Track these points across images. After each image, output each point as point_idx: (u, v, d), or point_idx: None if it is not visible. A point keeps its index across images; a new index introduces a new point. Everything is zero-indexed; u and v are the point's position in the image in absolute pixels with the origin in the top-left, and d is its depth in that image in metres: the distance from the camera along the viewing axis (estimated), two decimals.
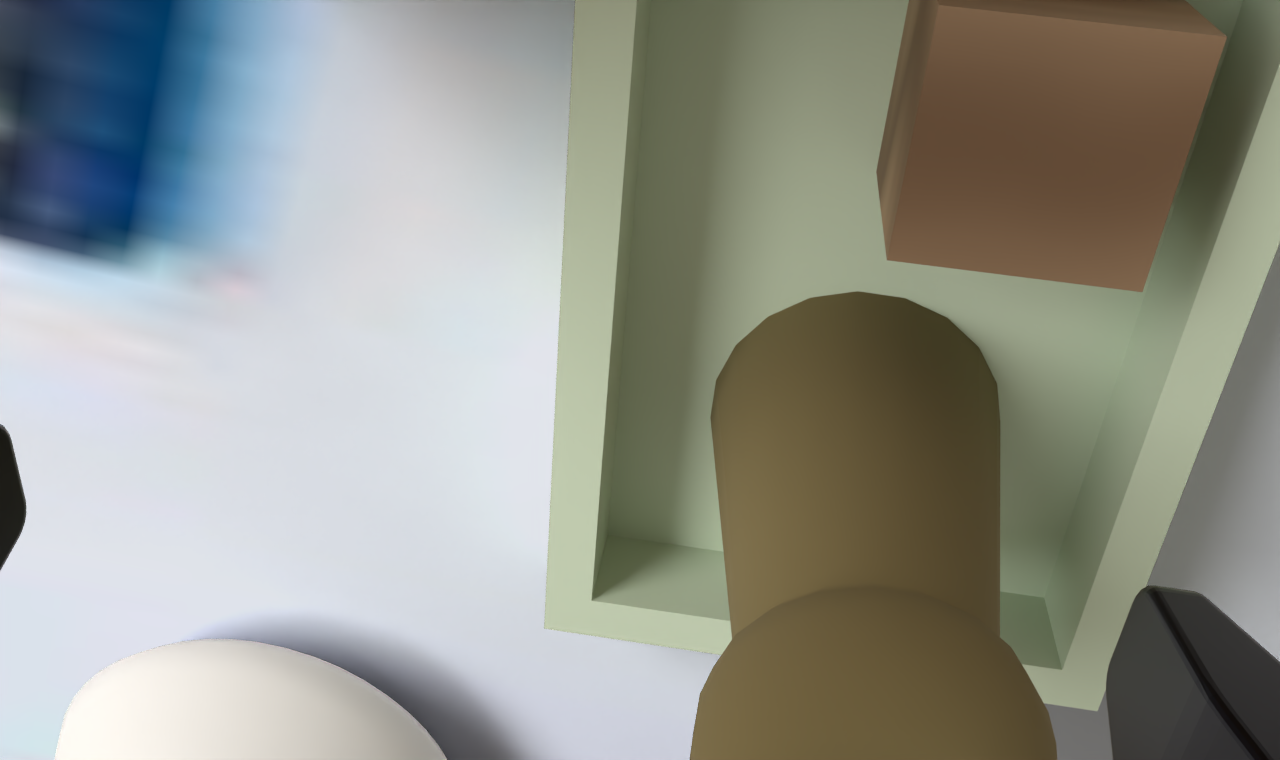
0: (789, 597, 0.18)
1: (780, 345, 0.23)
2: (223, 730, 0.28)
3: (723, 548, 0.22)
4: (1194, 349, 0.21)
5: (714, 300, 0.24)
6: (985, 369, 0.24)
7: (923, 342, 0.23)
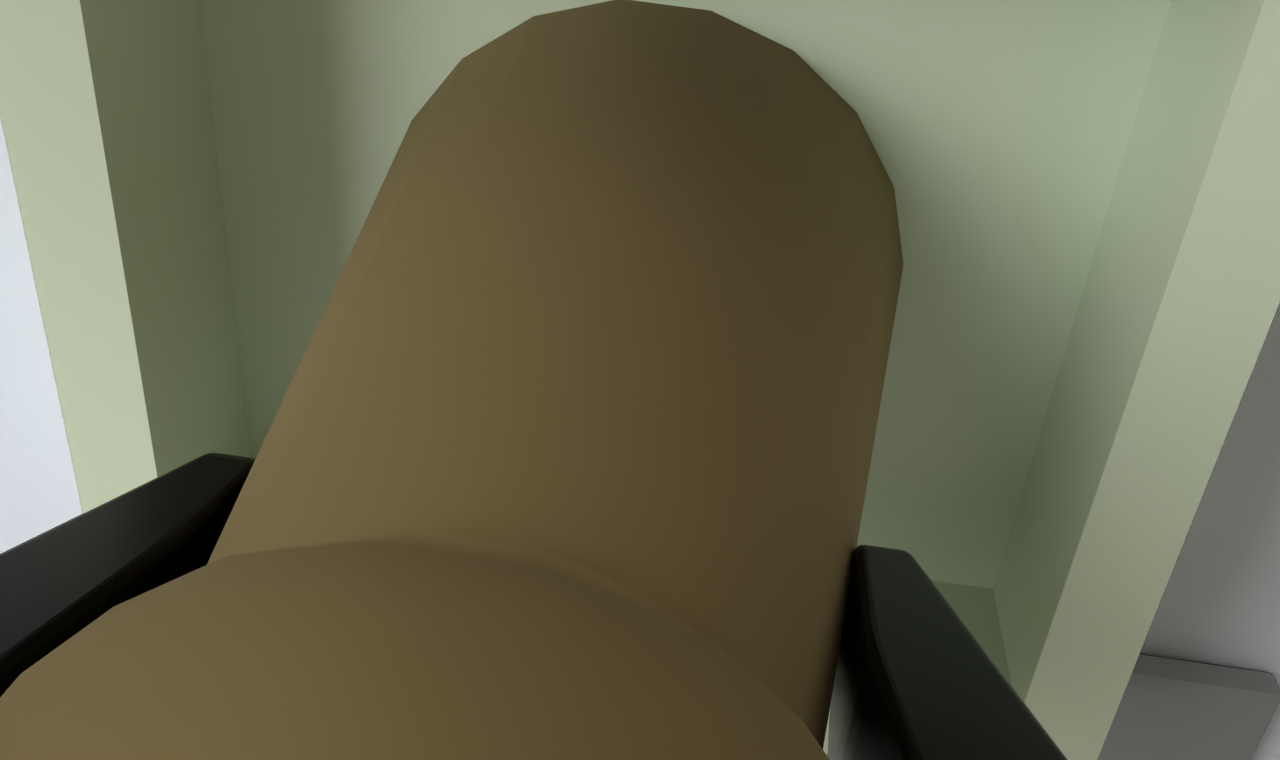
0: None
1: (459, 93, 0.12)
2: None
3: None
4: None
5: (360, 27, 0.13)
6: (867, 151, 0.12)
7: (731, 74, 0.11)
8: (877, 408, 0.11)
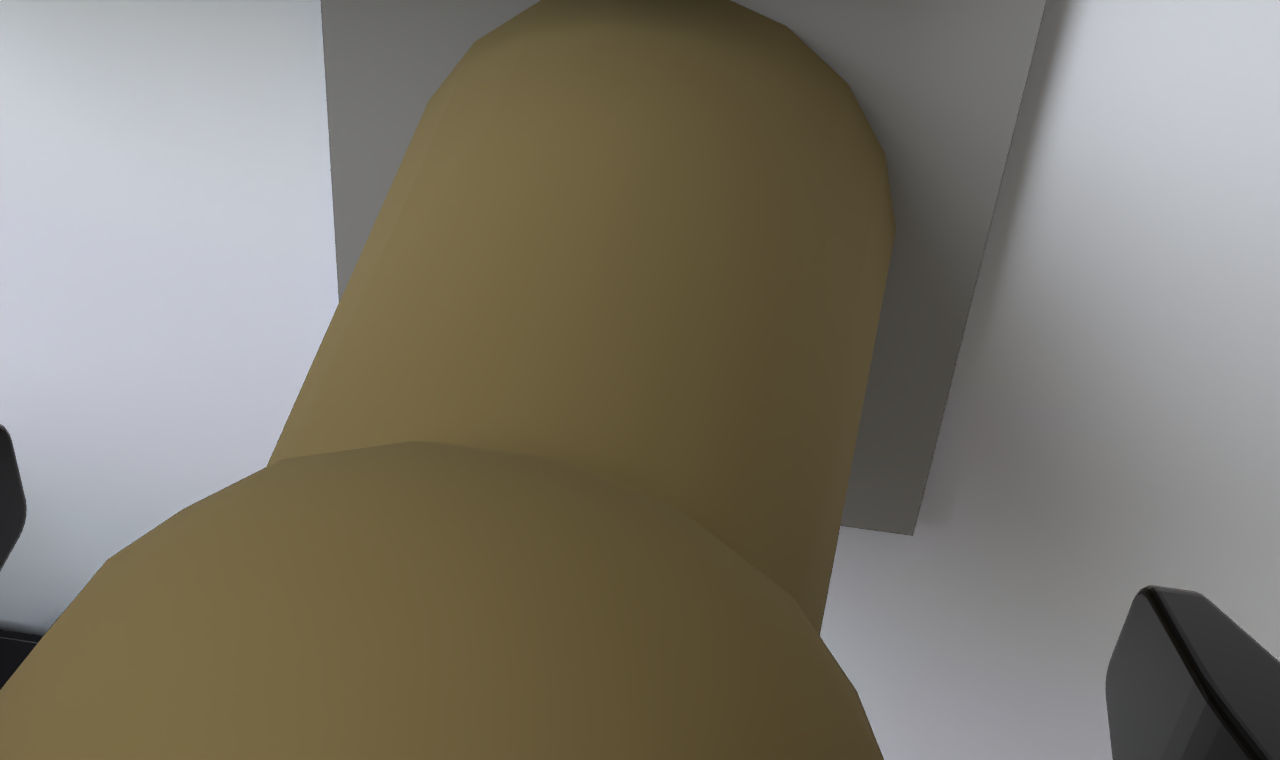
0: None
1: (473, 72, 0.13)
2: None
3: None
4: None
5: None
6: (859, 120, 0.13)
7: (727, 48, 0.12)
8: (870, 356, 0.11)
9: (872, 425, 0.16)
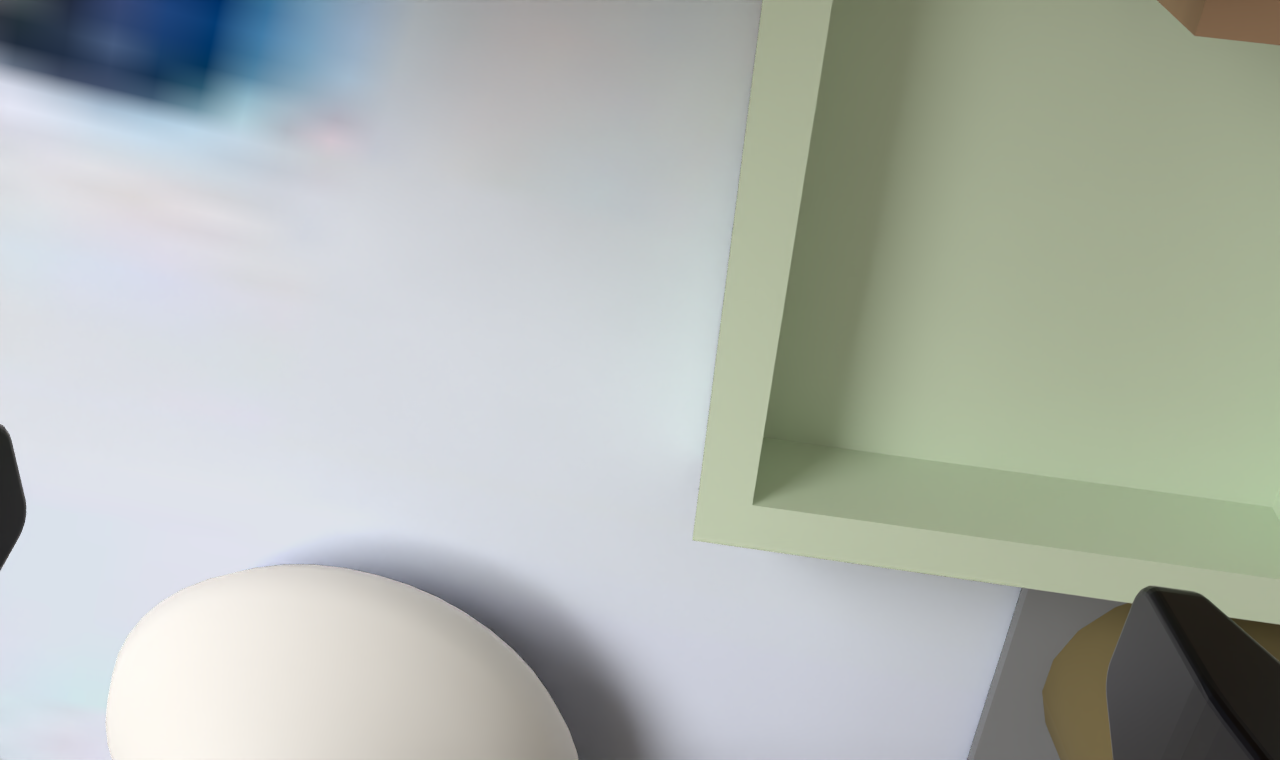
0: None
1: None
2: (308, 665, 0.24)
3: None
4: None
5: (910, 140, 0.20)
6: None
7: None
8: None
9: None
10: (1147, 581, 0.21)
